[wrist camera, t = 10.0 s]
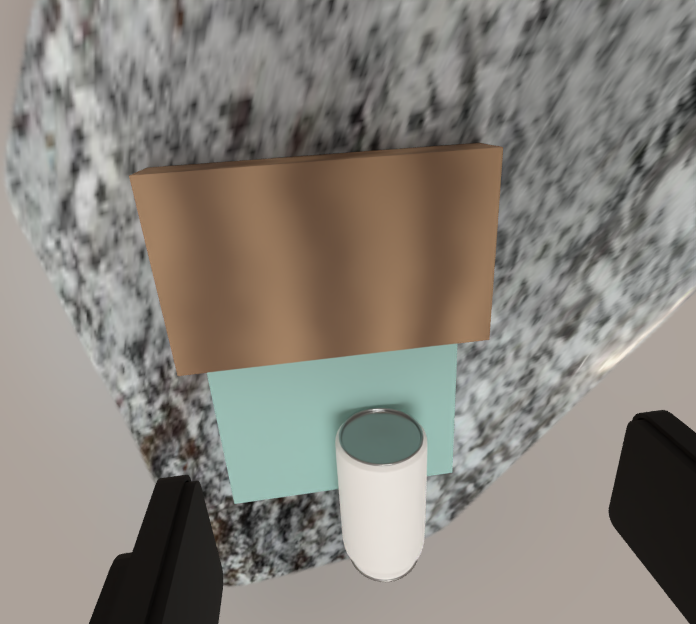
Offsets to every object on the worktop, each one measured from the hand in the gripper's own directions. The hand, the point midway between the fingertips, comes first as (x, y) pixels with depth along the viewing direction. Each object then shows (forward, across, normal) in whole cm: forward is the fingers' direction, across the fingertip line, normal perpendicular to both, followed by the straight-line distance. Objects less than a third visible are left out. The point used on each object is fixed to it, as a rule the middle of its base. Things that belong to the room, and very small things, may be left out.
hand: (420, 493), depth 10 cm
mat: (+22, 0, +14) cm, 26 cm away
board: (+22, 0, +1) cm, 22 cm away
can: (+18, -2, +13) cm, 23 cm away
